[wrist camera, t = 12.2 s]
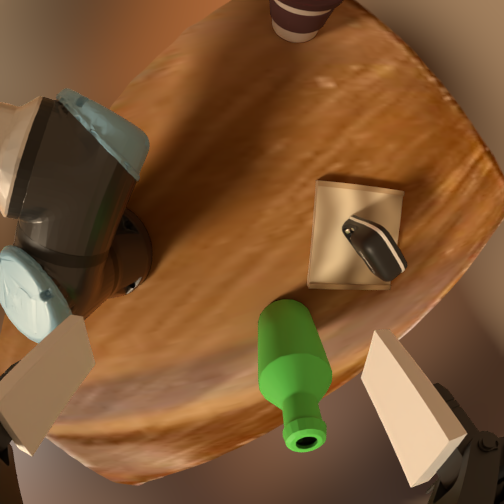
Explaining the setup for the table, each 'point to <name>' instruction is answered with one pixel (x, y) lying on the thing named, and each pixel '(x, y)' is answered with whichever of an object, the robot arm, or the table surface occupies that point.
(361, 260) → the board
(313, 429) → the bottle
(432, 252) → the table surface
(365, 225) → the battery charger
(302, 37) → the coffee cup
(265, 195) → the table surface
